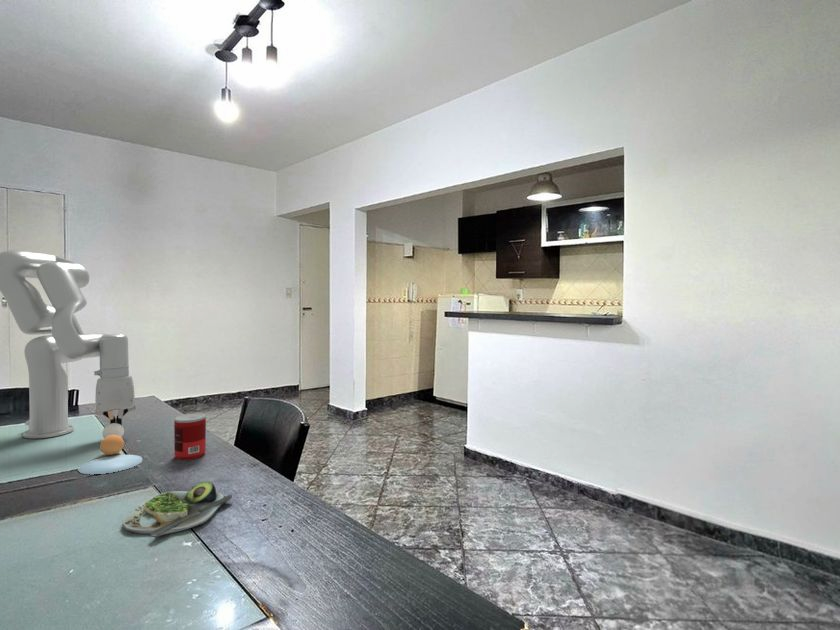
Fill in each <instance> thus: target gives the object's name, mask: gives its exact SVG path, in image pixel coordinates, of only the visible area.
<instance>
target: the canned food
mask: <svg viewBox="0 0 840 630" xmlns="http://www.w3.org/2000/svg"><path fill="white" fill-rule="evenodd" d="M173 422H174V430H173V431H174V433H173V434H174V435H173V436H174V438H173V439H174V445H173V446H174V457H175V459H176V460H179V459H180V460H179V461H187V460H189V459H190V460H193V459H198V458H200V457H203V456H204V455H205V453H206V450H207V449H206V448H207V447H206V446H207V445H206V440H207V439H206V434H207V432H206V429H207V427H206V426H207V423H206V422H207V421H206V414H204V413H196V412H195V413H187V414H185V413H184V414H181V415H178V416H176V417H174V421H173Z"/></svg>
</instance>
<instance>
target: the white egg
mask: <svg viewBox="0 0 840 630" xmlns="http://www.w3.org/2000/svg"><path fill="white" fill-rule="evenodd" d="M124 433H125V429H124V427H123V425H122V426H121V425H120V424H117V423H112V424H110V423H109V424H107V425H106V426H105V427H104V428H103V429H102V434H101V435H102V438H103V439H104V438H105V437H107V436H110V435H118V436H120V437H121V438H123V437H124V436H123V435H124Z"/></svg>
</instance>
